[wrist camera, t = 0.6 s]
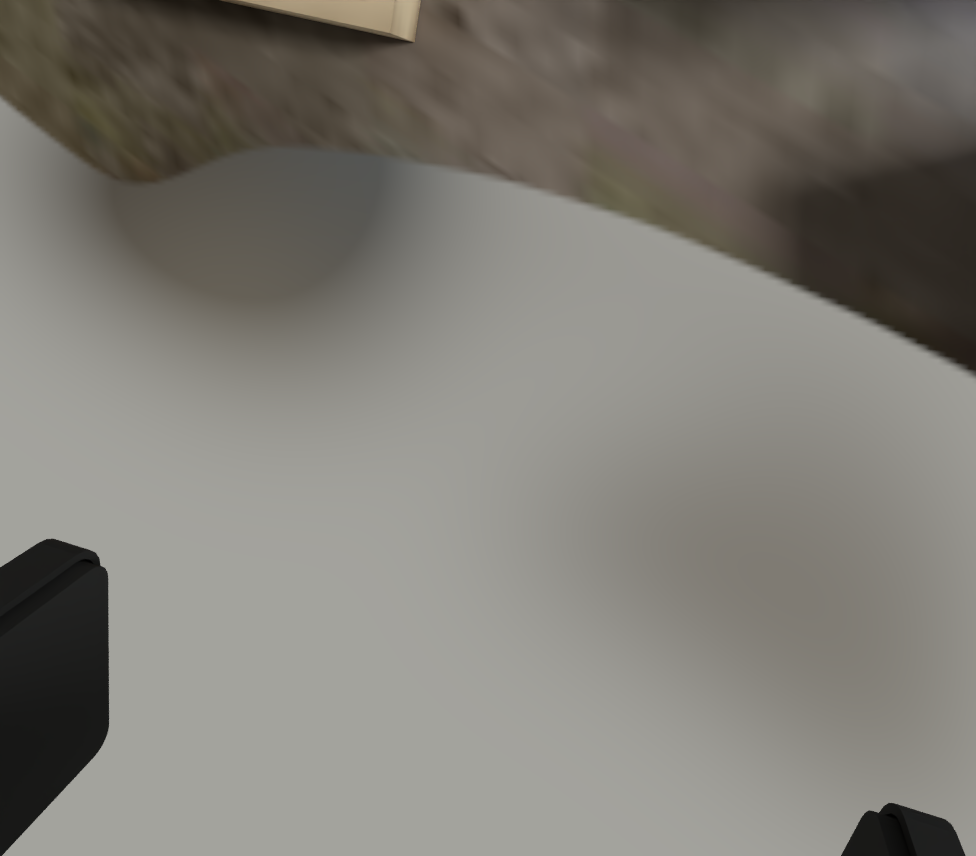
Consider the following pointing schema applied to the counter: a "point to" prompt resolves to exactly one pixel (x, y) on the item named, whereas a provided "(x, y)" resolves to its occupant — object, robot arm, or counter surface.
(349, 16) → the oak plinth
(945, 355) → the counter surface
